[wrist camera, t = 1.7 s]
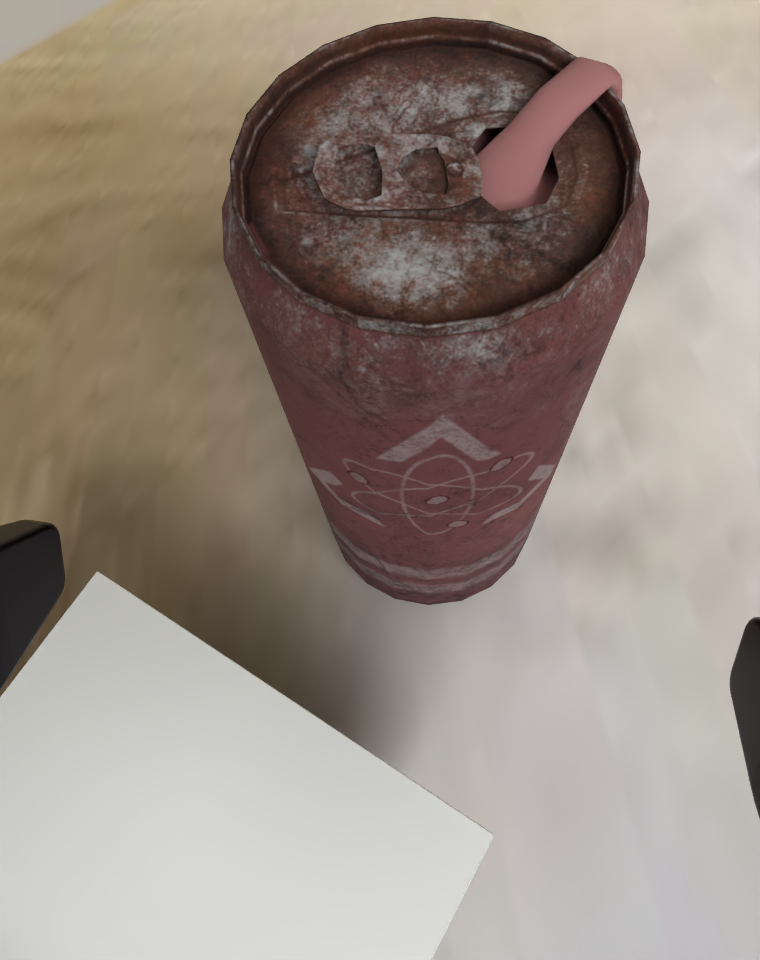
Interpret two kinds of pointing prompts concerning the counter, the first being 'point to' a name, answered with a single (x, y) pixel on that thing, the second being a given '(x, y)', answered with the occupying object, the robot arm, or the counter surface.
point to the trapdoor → (204, 810)
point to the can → (435, 281)
